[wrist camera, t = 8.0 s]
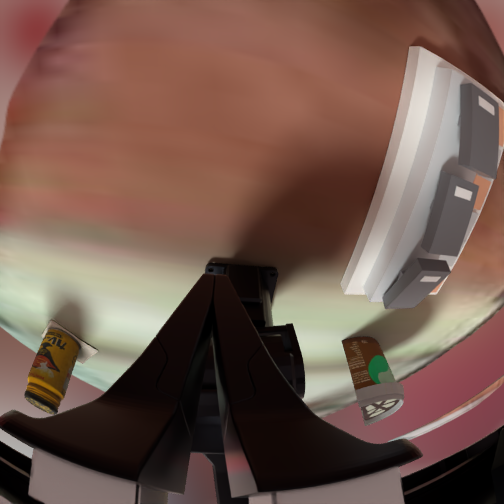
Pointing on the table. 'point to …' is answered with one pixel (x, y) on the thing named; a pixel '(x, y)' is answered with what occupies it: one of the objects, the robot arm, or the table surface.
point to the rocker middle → (449, 215)
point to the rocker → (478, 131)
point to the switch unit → (415, 176)
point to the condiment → (54, 367)
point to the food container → (372, 379)
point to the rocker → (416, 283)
